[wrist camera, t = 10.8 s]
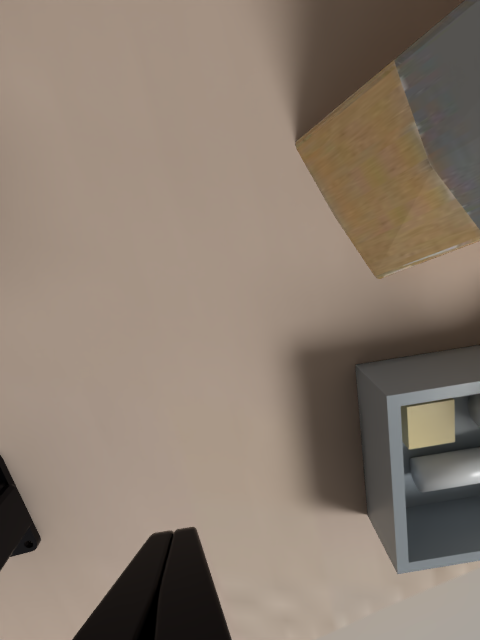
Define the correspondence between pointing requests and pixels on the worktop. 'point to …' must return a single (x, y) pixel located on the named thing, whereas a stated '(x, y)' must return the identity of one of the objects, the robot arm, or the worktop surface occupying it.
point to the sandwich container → (407, 151)
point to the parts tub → (423, 456)
